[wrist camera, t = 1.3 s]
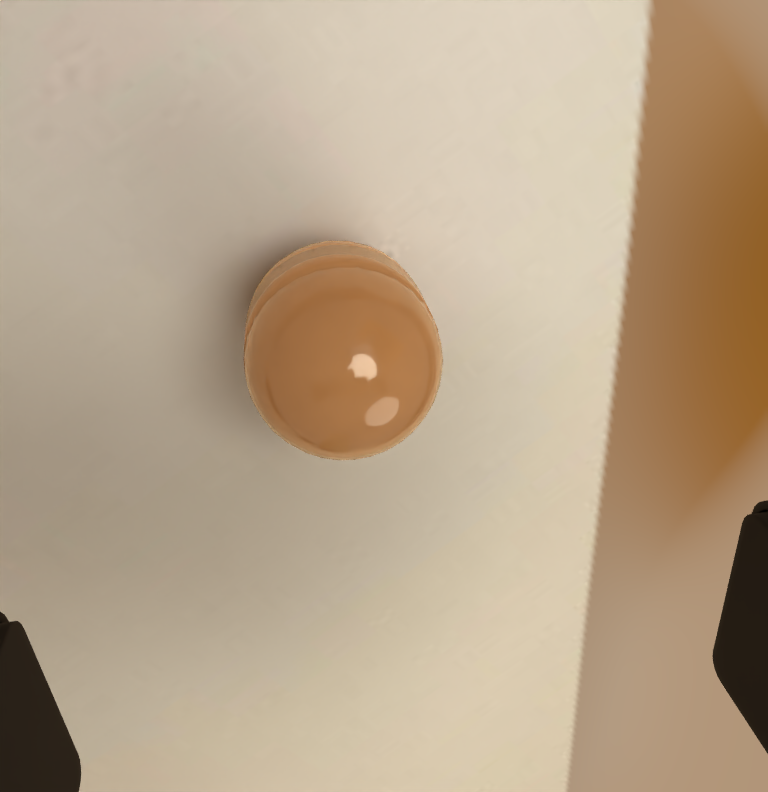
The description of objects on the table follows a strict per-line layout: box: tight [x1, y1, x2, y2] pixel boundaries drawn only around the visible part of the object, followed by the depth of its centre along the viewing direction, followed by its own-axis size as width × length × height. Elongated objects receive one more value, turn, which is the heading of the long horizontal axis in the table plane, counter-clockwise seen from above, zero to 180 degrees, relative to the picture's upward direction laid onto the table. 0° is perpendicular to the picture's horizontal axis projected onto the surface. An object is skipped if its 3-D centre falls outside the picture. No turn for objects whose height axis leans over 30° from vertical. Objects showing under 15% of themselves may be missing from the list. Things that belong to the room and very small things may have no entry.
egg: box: [244, 241, 443, 460], centre depth 16 cm, size 4×4×6 cm
